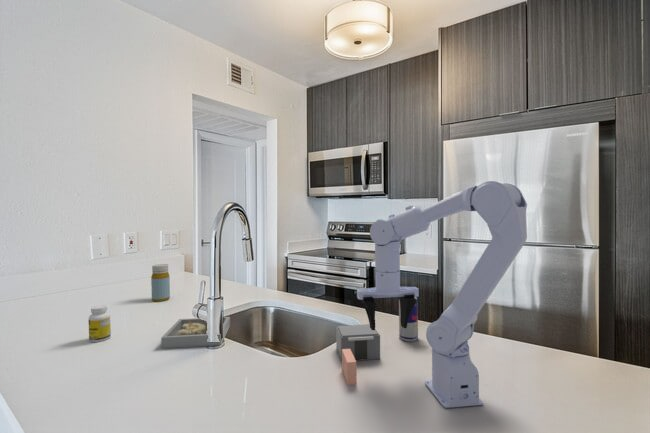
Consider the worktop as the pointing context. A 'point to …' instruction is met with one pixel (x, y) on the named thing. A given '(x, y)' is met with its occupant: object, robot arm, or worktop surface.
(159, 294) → the bottle
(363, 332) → the dispenser
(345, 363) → the pink rectangular block
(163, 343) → the tray
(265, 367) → the worktop surface
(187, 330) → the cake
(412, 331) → the energy drink
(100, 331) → the supplement bottle
